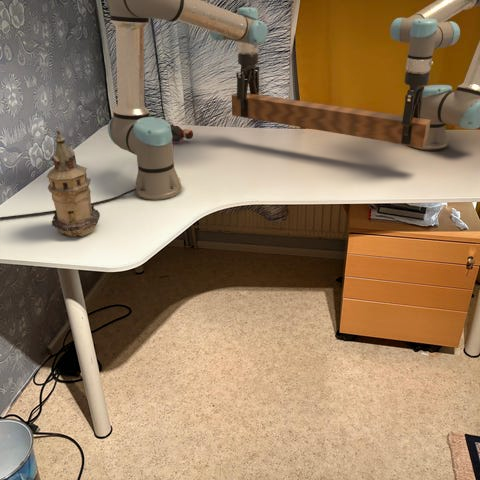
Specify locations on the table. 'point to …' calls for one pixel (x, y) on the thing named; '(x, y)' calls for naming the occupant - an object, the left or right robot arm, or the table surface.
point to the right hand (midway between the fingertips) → (408, 140)
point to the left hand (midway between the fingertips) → (248, 114)
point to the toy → (180, 133)
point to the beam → (332, 119)
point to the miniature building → (70, 193)
